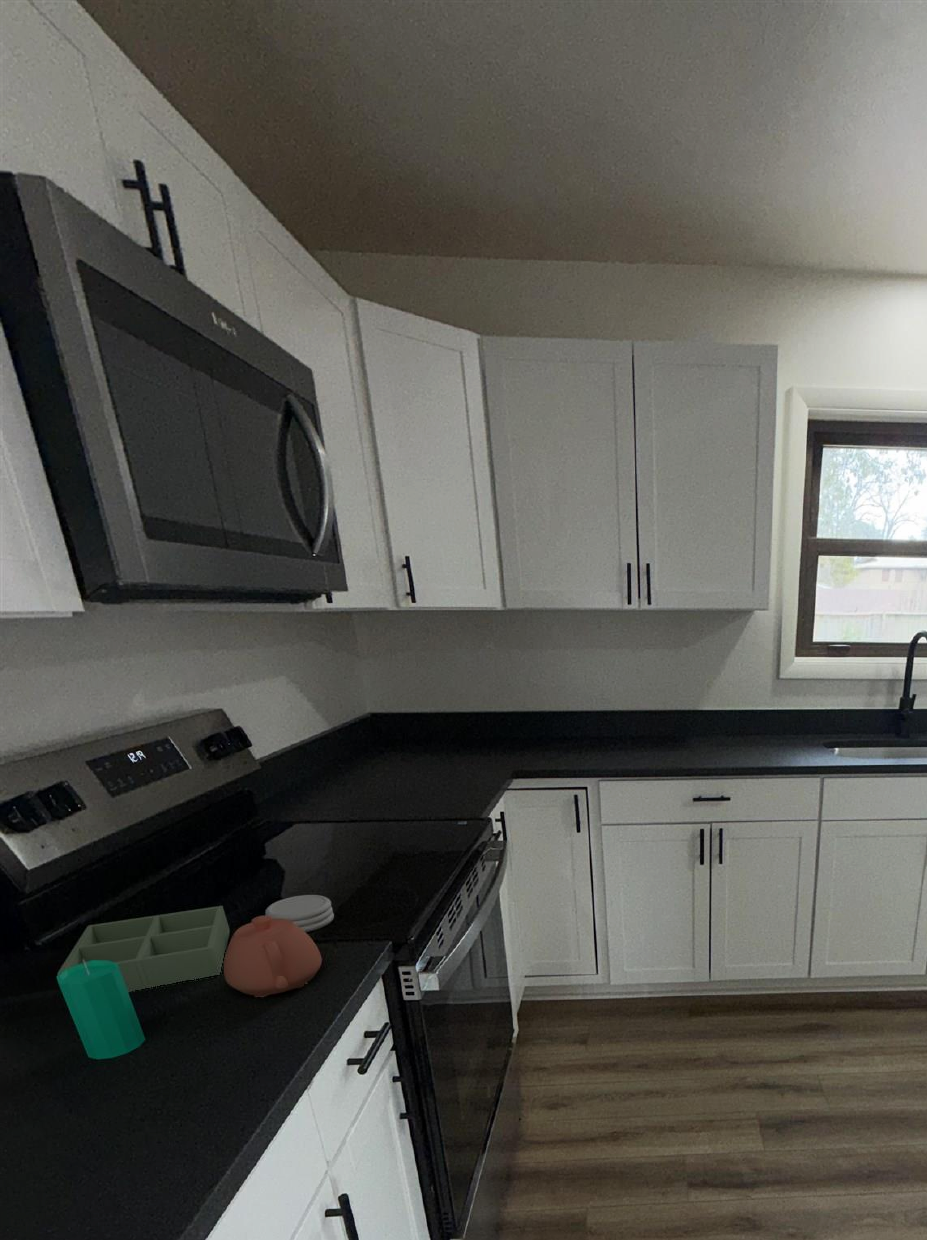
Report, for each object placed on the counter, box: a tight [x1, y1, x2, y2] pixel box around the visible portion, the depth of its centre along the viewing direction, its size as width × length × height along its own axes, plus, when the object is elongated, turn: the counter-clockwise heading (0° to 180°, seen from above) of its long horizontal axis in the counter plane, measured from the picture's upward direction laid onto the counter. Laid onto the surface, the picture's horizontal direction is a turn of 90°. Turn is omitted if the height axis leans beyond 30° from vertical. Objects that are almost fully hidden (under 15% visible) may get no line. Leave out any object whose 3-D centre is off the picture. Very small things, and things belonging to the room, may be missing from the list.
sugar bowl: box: [223, 914, 323, 998], centre depth 105 cm, size 12×14×10 cm
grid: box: [56, 905, 231, 993], centre depth 113 cm, size 18×18×5 cm
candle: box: [56, 959, 146, 1060], centre depth 90 cm, size 6×6×12 cm
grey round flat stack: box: [265, 894, 335, 933], centre depth 127 cm, size 10×10×4 cm
